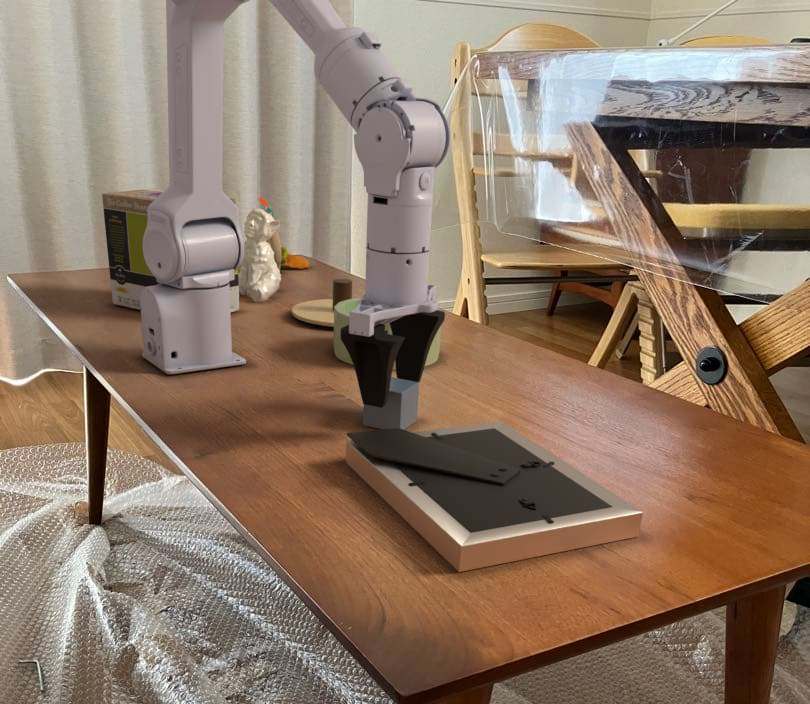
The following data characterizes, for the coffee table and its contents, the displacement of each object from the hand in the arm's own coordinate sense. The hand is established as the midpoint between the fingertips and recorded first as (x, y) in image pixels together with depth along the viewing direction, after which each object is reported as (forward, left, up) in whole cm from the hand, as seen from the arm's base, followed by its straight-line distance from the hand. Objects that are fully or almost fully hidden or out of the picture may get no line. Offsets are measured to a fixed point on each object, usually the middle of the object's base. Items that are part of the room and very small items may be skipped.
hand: (391, 393), depth 88 cm
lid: (+17, +37, -2) cm, 41 cm away
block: (0, 0, -3) cm, 3 cm away
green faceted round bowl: (+13, +20, -3) cm, 24 cm away
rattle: (+25, +68, -3) cm, 73 cm away
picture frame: (-3, -18, -3) cm, 18 cm away
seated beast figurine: (+13, +55, -3) cm, 57 cm away
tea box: (-1, +51, -3) cm, 51 cm away
